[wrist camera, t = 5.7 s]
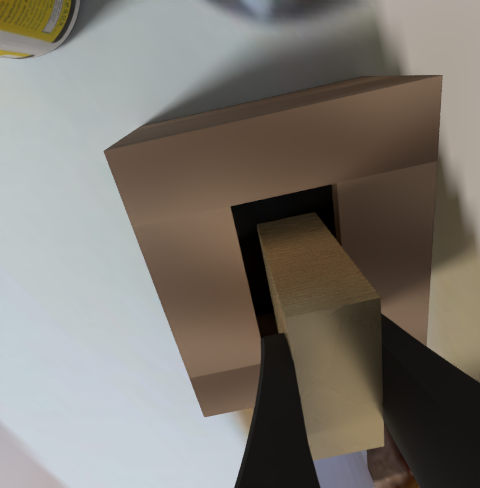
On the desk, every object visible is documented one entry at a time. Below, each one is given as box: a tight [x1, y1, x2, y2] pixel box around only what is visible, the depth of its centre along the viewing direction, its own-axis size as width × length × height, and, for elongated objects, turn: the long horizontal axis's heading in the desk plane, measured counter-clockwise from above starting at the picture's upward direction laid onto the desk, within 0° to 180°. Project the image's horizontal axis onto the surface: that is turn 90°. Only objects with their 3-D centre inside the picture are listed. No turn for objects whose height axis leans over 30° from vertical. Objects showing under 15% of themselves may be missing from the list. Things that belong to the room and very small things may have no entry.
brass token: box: [257, 212, 384, 461], centre depth 10 cm, size 5×2×5 cm, turn 11°
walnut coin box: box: [104, 75, 442, 417], centre depth 15 cm, size 12×10×6 cm
